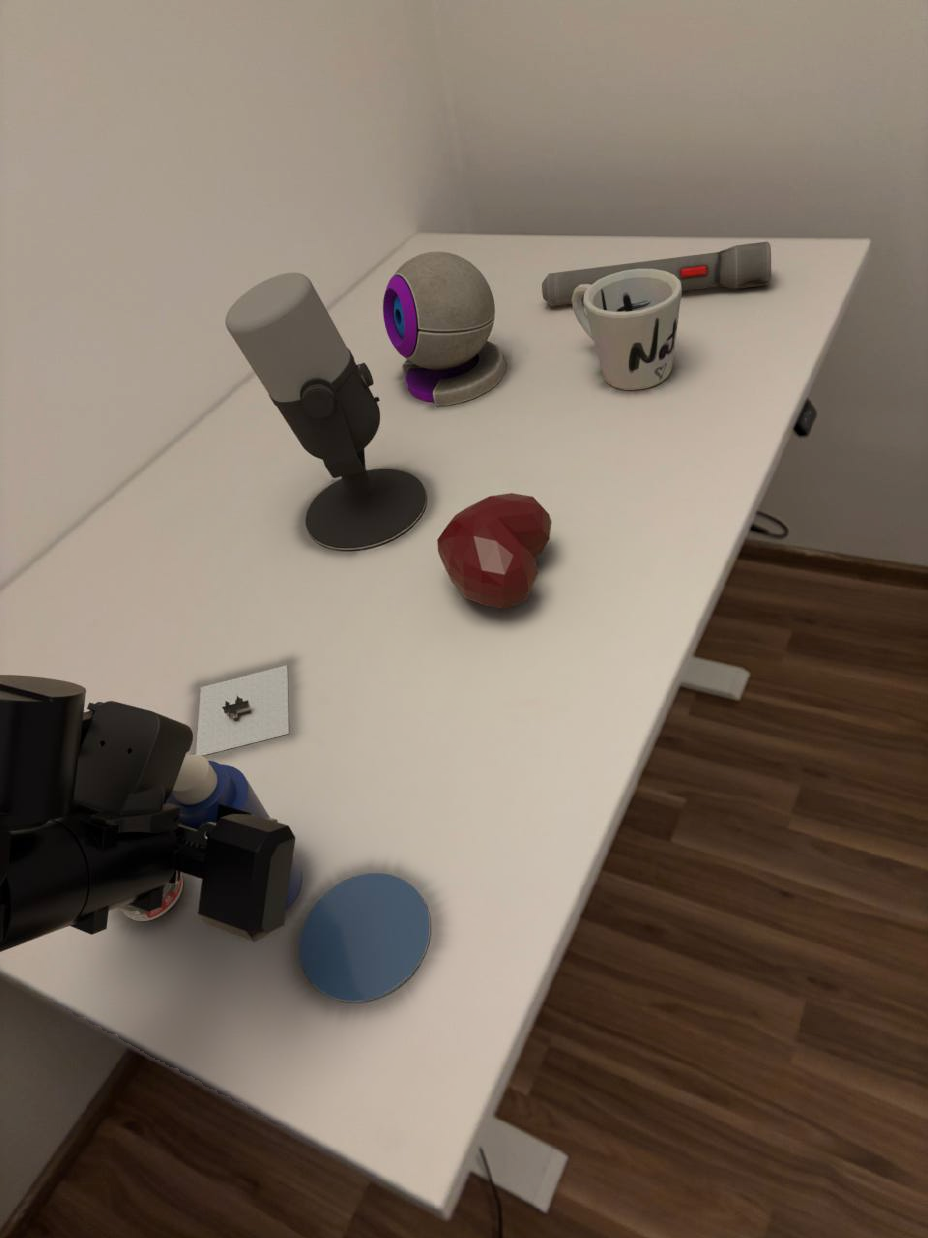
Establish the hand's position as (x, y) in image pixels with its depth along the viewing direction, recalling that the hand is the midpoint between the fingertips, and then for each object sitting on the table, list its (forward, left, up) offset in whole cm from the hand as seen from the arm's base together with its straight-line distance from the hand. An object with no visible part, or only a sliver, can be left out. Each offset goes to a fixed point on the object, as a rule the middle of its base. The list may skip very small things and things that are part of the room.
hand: (239, 816), depth 62 cm
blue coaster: (0, -9, -7) cm, 12 cm away
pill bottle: (-6, +7, -7) cm, 12 cm away
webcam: (+61, +29, -7) cm, 67 cm away
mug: (+69, +10, -7) cm, 70 cm away
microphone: (+36, +22, -7) cm, 42 cm away
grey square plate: (+10, +14, -7) cm, 18 cm away
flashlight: (+85, +15, -7) cm, 87 cm away
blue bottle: (-1, 0, -7) cm, 7 cm away
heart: (+33, +3, -7) cm, 34 cm away
